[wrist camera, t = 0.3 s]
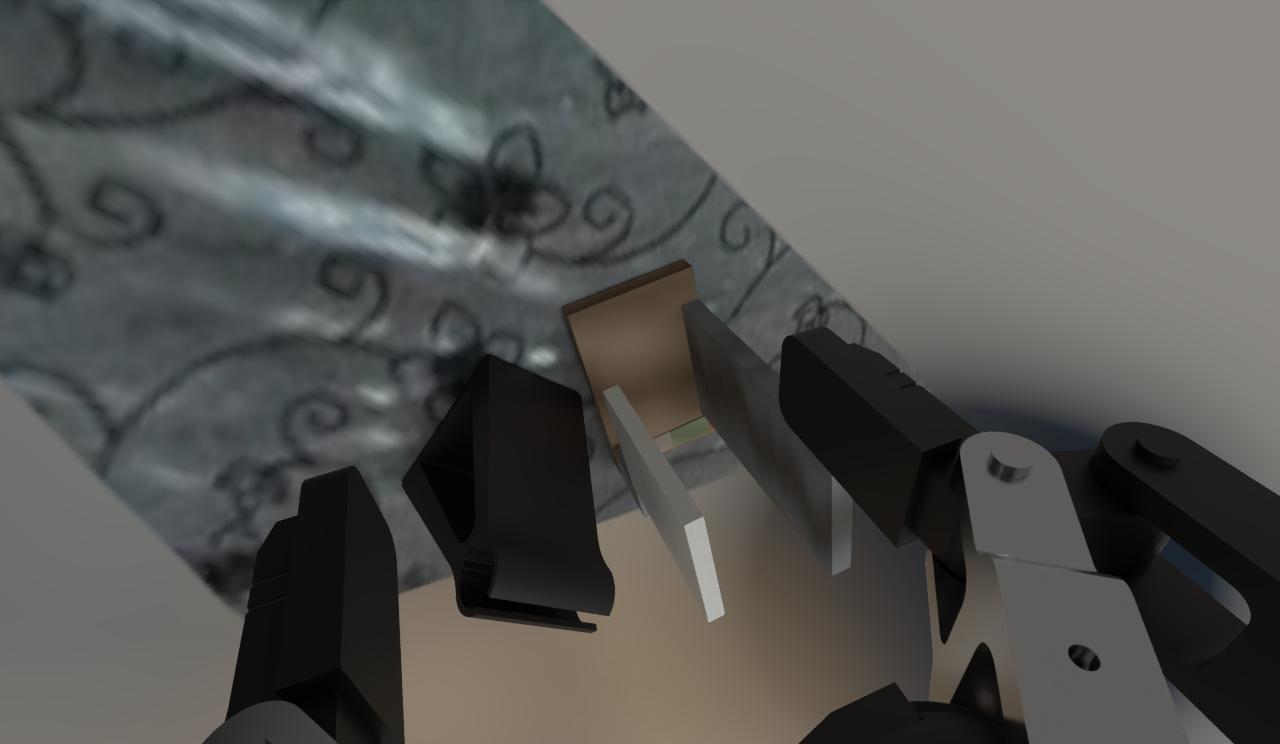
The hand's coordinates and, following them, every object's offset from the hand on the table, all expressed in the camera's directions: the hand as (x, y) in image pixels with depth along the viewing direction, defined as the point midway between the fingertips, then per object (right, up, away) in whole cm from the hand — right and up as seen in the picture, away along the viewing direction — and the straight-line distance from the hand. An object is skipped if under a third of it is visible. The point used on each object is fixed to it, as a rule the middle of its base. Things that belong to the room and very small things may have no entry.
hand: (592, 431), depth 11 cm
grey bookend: (+1, +1, +24) cm, 24 cm away
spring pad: (-1, -2, +23) cm, 23 cm away
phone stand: (-7, -2, +22) cm, 23 cm away
